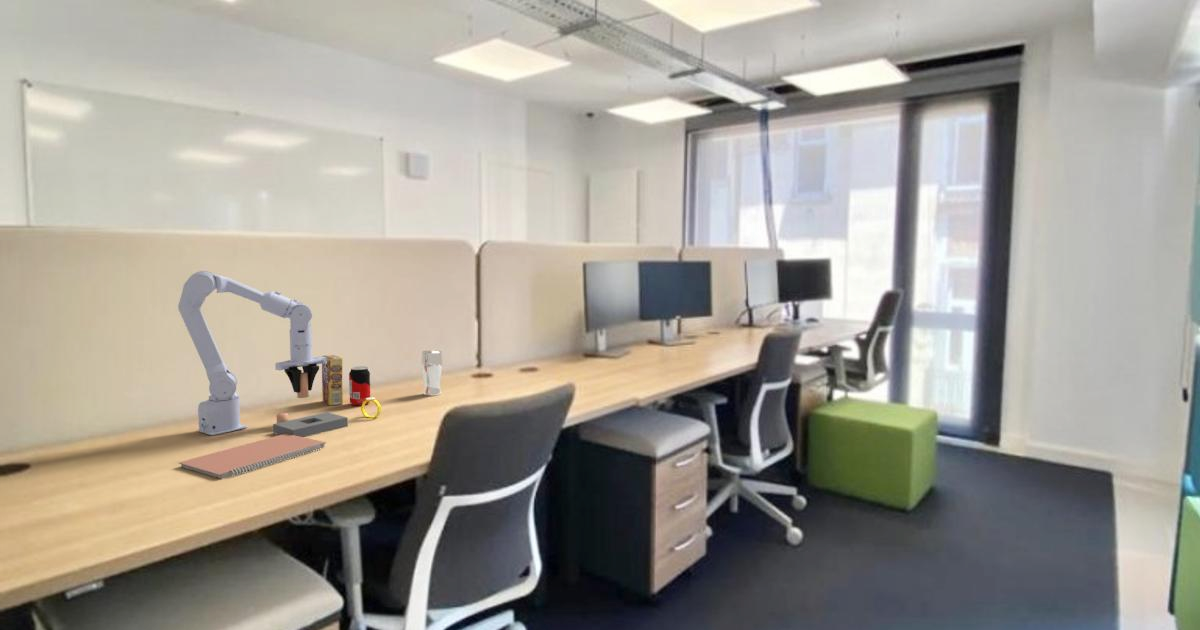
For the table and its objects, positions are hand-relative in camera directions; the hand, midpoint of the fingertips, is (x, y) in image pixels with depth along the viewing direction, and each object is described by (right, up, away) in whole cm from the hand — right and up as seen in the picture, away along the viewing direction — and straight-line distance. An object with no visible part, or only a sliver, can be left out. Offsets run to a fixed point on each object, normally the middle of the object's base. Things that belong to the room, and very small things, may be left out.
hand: (302, 391), depth 186 cm
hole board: (+6, -10, -8) cm, 14 cm away
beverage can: (+9, -7, +22) cm, 25 cm away
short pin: (-2, -10, -7) cm, 12 cm away
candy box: (-1, -7, +24) cm, 25 cm away
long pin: (0, -2, 0) cm, 2 cm away
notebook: (+4, -13, -32) cm, 34 cm away
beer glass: (+28, -6, +38) cm, 47 cm away
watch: (+18, -9, +6) cm, 21 cm away
